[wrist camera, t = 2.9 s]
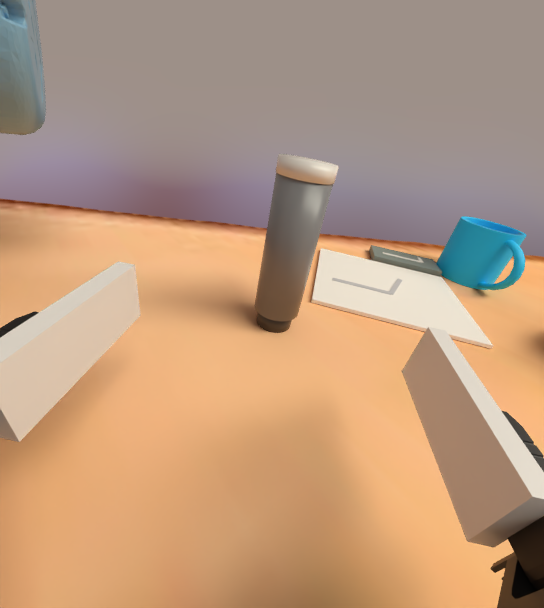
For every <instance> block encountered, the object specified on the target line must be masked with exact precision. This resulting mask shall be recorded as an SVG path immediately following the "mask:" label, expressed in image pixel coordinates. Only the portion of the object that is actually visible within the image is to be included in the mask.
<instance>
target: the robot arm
mask: <svg viewBox="0 0 544 608" xmlns="http://www.w3.org/2000/svg"><path fill="white" fill-rule="evenodd" d="M45 103H46V102H45V85H44V74H43V62H42V53H41V43H40V34H39V26H38V18H37V11H36V4H35V0H0V133H6V134H18V135H26V134H31V133H34V132H36V131H37V130H38V129H40V128H41V127H42V125H43V123H44V121H45V112H46V108H45V107H46V105H45ZM139 316H140V306H139V297H138V288H137V279H136V269H135V265H133V264H128V263H123V262H117V263H115V264H113V265H112V266H110V267H109V268H107V269H106V270H104V271H103V272H101V273H100V274H98V275H96V276H95V277H93V278H92V279H90V280H89V281H87V282H86V283H84V284H83V285H81V286H79V287H78V288H76V289H75V290H73V291H72V292H70V293H69V294H67V295H65V296H64V297H62V298H61V299H59V300H58V301H56V302H55V303H53V304H52V305H50V306H48V307H47V308H45V309H44V310H42V311H41V312H32V313H30V314H27V315H24V316H22V317H19V318H16V319H14V320H13V321H11V322H9V323H8V324H6V325H5V326H3V327H1V328H0V438H4V439H8V440H13V441H17V442H20V441H21V440H22V439H23V438H24V437H25V436H26V435H27V434H28V433H29V432H30V430H31V429H32V428H33V427H34V426H35V425H36V424H37V423H38V422H39V421H40V420H41V419H42V418H43V417H44V416H45V415H46V414H47V413H48V412H49V411H50V410H51V409H52V407H53V406H54V405H55V404H56V403H57V402H58V401H59V400H60V399H61V398H62V397H63V396H64V395H65V394H66V393H67V392H68V391H69V390H70V389H71V388H72V387H73V386H74V384H75V383H76V382H77V381H78V380H79V379H80V378H81V377H82V376H83V375H84V374H85V373H86V372H87V371H88V370H89V369H90V368H91V367H92V366H93V365H94V364H95V363H96V361H97V360H98V359H99V358H100V357H101V356H102V355H103V354H104V353H105V352H106V351H107V350H108V349H109V348H110V347H111V346H112V345H113V344H114V343H115V342H116V341H117V340H118V338H119V337H120V336H121V335H122V334H123V333H124V332H125V331H126V330H127V329H128V328H129V327H130V326H131V325H132V324H133V323H134V322H135V321H136V320H137V319H138V318H139ZM402 373H403V376H404V378H405V381H406V384H407V386H408V389H409V391H410V394H411V397H412V399H413V402H414V404H415V407H416V410H417V412H418V415H419V417H420V420H421V423H422V425H423V428H424V430H425V433H426V436H427V438H428V441H429V443H430V446H431V449H432V451H433V454H434V456H435V459H436V462H437V464H438V467H439V470H440V472H441V475H442V477H443V480H444V483H445V485H446V488H447V490H448V493H449V496H450V498H451V501H452V503H453V506H454V509H455V511H456V514H457V516H458V519H459V522H460V524H461V527H462V529H463V532H464V535H465V537H466V540H467V541H468V542H472V543H477V544H481V545H486V546H490V547H495V546H497V545H499V544H500V543H502V542H504V541H505V540H507V539H508V540H509V542H510V544H511V546H512V548H513V550H514V553H512V554H510V555H508V556H506V557H505V558H503V559H501V560H499V561H497V562H496V563H494V564H493V566H492V567H491V570H492V571H493V572H495V573H496V572H497V571H499V570H501V569H503V568H505V573H504V577H502V580H503V582H502V587H501V592H500V597H499V601H498V606H497V608H544V458H543V454H542V453H541V452H540V450H539V449H538V448H537V446H535V445H534V442H533V441H532V439H531V438H530V437H529V435H528V434H527V432H526V431H525V430H524V428H523V427H522V426H521V425H520V424H519V423H518V422H517V421H516V420H515V419H514V418H512V417H511V416H510V415H509V414H508V413H507V412H504V411H501V410H500V408H499V407H498V405H497V404H496V402H495V401H494V400H493V398H492V397H491V395H490V394H489V392H488V391H487V389H486V388H485V387H484V385H483V384H482V382H481V381H480V379H479V378H478V376H477V375H476V374H475V372H474V371H473V369H472V368H471V366H470V365H469V363H468V362H467V361H466V359H465V358H464V356H463V355H462V353H461V352H460V350H459V349H458V348H457V346H456V345H455V343H454V342H453V340H452V339H451V337H450V336H449V335H448V333H447V332H446V330H441V329H436V328H431V327H428V328H427V330H426V332H425V333H424V335H423V337H422V338H421V340H420V342H419V343H418V345H417V347H416V348H415V350H414V352H413V353H412V355H411V357H410V358H409V360H408V362H407V363H406V365H405V367H404V368H403V370H402Z"/></svg>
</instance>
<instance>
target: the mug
mask: <svg viewBox="0 0 544 608" xmlns="http://www.w3.org/2000/svg"><path fill="white" fill-rule="evenodd" d="M525 237H526V234H525V233H523V232H520V231H518V230H516V229H513V228H510V227H507V226H504V225H501V224H498V223H494V222H491V221H487V220H483V219H478V218H473V217H461V218H460V220H459V222H458V224H457V226H456V228H455V229H454V232H453V233H452V235H451V237H450V239H449V241H448V243H447V244H446V246H445V248H444V250H443V252H442V254H441V256H440V257H439V259H438V261H437V263H436V264H437V266H438V267H439V268H440V269H441V271H442V274H441V275H442V276H443V277H445V278H447V279H449V280H451V281H453V282H456V283H458V284H461V285H464V286H467V287H470V288H475V289H480V290H487V289H490V290H499V289H505V288H507V287H509V286H511V285H513V284H514V283H515V282H516V281H517V280H518V279H519V278H520V277H521V275H522V273H523V271H524V267H525V257H524V253H523V251H522V249H521V248H520V245H521V243H522V241H523V240H524V239H525ZM512 256H514V267H513V269H512V271H511V273H510V275H509V276H508V277H507V278H506V279H505V280H504V281H502V282H500V283H497V284H494V282H495V281H496V279H497V278H498V277H499V275H500V274H501V272H502V271H503V269H504V268H505V266H506V265H507V263H508V262H509V261H510V259H511V258H512Z"/></svg>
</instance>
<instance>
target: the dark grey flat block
mask: <svg viewBox="0 0 544 608" xmlns="http://www.w3.org/2000/svg"><path fill="white" fill-rule="evenodd" d="M369 252H370V256H371V259H372V261H376V262H381V263H385V264H389V265H393V266H397V267H402V268H406V269H410V270H414V271H418V272H422V273H427V274H431V275H435V276H439V277H440V276H441V274H442V271H441V269H440V268H439V267H438V266H437V264H436V263H435V262H434V261H433V260H432V259H428V258H423V257H419V256H415V255H411V254H406V253H402V252H398V251H394V250H389V249H385V248H381V247H377V246H372V245H371V247H370V250H369Z"/></svg>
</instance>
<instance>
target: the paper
mask: <svg viewBox="0 0 544 608" xmlns="http://www.w3.org/2000/svg"><path fill="white" fill-rule="evenodd" d="M311 303H315V304H319V305H323V306H327V307H331V308H335V309H339V310H342V311H346V312H350V313H354V314H358V315H362V316H366V317H370V318H373V319H377V320H381V321H385V322H389V323H393V324H397V325H401V326H404V327H408V328H412V329H416V330H420V331H424V332H426V330H427V328H428V327H431V328H436V329H441V330H446V332H447V333H448V335H449V336H450V337H451V339H455V340H459V341H463V342H466V343H470V344H474V345H478V346H482V347H486V348H490V349H491V348H492V347H493V345H492V343H491V342H490V341H489V339H488V338H487V337H486V335H485V334H484V333H483V331H482V330H481V329H480V327H479V326H478V325H477V323H476V322H475V321H474V319H473V318H472V317H471V315H470V314H469V313H468V311H467V310H466V309H465V307H464V306H463V305H462V303H461V302H460V301H459V299H458V298H457V297H456V296H455V294H454V293H453V292H452V290H451V289H450V288H449V286H448V285H447V284H446V282H445V281H444V280H443V278H442V277H439V276H435V275H431V274H427V273H422V272H418V271H414V270H410V269H406V268H402V267H397V266H393V265H389V264H385V263H381V262H376V261H372V260H368V259H364V258H360V257H356V256H351V255H347V254H343V253H339V252H335V251H331V250H326V249H322V248H321V250H320V255H319V261H318V267H317V273H316V278H315V284H314V290H313V295H312V301H311Z"/></svg>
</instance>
